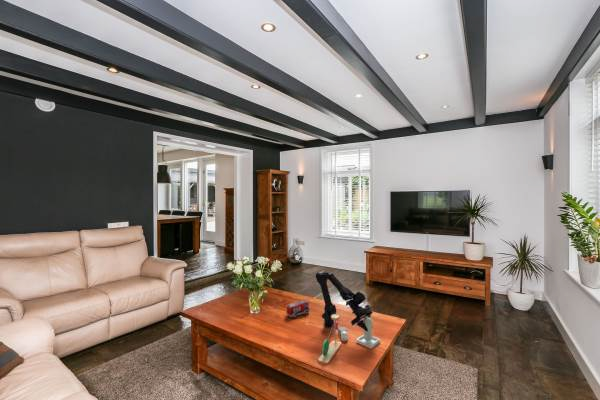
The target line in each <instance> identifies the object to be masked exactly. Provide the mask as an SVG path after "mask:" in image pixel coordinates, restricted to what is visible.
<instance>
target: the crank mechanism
mask: <svg viewBox="0 0 600 400" xmlns="http://www.w3.org/2000/svg"><path fill="white" fill-rule="evenodd" d="M331 319H332V320H334V324H333V327H331V330H330V332H329V335H328V337H327V339H325V340H324V341H323V345H322V349H321V350H322V354H321V355H320V356H318V358H317V362H318V363H319V364H322V365H324V366H325V365H326V366H327V365H330V363H331V361H332V360H333V358H334V357H335V356H336V354H337V353H338V351H339V350H340V348H341V347H342V346H343V345H342V342H341V341H338V340H337V331H338V327H339V323H338V320H339V319H340V315H339V314H333V315H332V316H331ZM332 331H334V335H335V337H334V339H335V340H332V341H331V342H330V341H329V339H330V336H331V335H332Z"/></svg>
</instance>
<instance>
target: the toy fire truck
mask: <svg viewBox="0 0 600 400" xmlns="http://www.w3.org/2000/svg"><path fill="white" fill-rule="evenodd" d="M308 302H310V300H307V298H305V299H302V300H299V301H296V302H293V303H289V304H287V305H286V315H287V316H289V317H290V318H292V317H293V319H297V317H298V316H299V315H303V314H304V316H308V314H309V313H310V312H311V311H310V307H309V304H310V303H308Z"/></svg>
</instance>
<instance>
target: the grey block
mask: <svg viewBox="0 0 600 400" xmlns="http://www.w3.org/2000/svg"><path fill="white" fill-rule="evenodd" d="M342 331H346V332H348V329H347V328H346V326H341V327H339V326H338V330H337V333H338V335H339V337H341V332H342Z"/></svg>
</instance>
